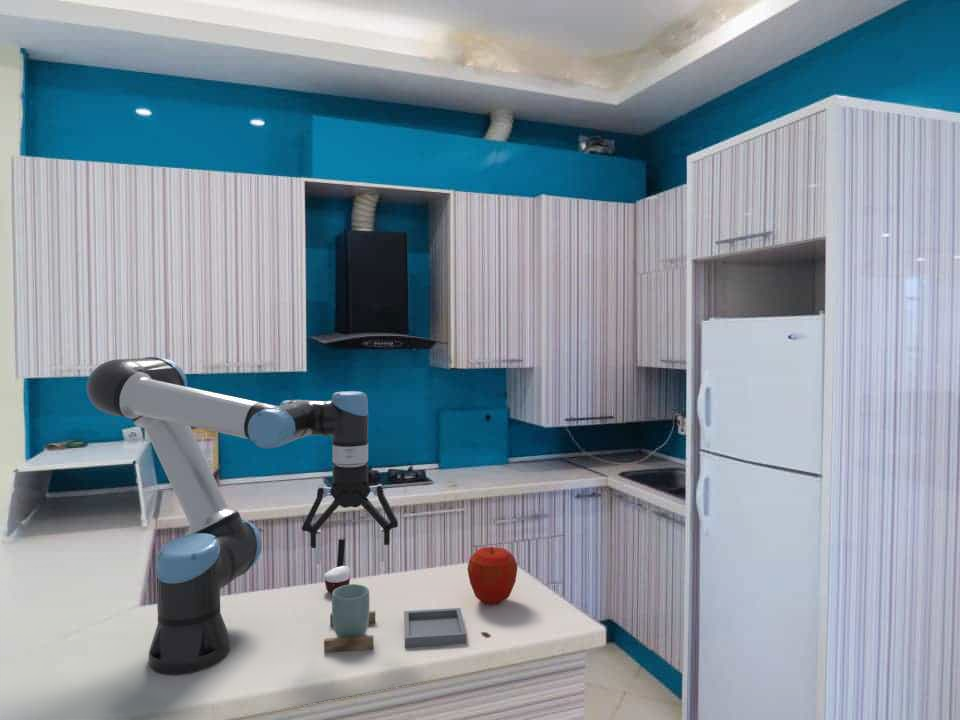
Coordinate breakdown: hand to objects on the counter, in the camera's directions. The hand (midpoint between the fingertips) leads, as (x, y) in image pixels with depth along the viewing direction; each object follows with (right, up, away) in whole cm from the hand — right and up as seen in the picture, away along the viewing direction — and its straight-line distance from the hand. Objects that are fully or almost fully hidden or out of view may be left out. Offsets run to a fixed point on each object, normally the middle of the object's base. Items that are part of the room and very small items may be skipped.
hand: (350, 560), depth 137 cm
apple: (+31, -16, +18) cm, 39 cm away
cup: (0, -17, 0) cm, 17 cm away
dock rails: (0, -17, 0) cm, 17 cm away
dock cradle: (+18, -16, +3) cm, 24 cm away
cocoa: (-8, -16, +25) cm, 30 cm away
